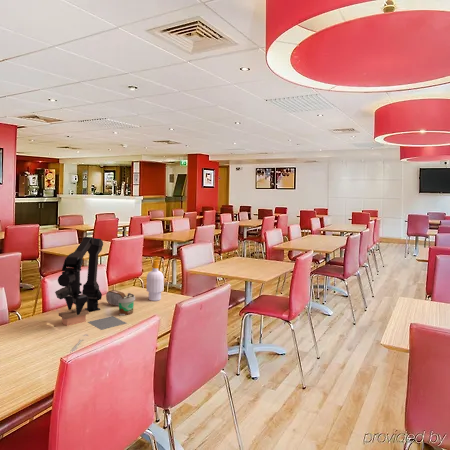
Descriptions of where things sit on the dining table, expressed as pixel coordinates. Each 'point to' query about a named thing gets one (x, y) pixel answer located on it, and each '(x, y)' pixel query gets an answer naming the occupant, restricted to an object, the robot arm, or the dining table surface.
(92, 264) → the robot arm
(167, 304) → the dining table surface
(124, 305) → the food container
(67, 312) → the lid
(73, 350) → the spoon
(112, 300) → the tin
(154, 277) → the soap bottle
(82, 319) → the dish
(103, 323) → the mat
